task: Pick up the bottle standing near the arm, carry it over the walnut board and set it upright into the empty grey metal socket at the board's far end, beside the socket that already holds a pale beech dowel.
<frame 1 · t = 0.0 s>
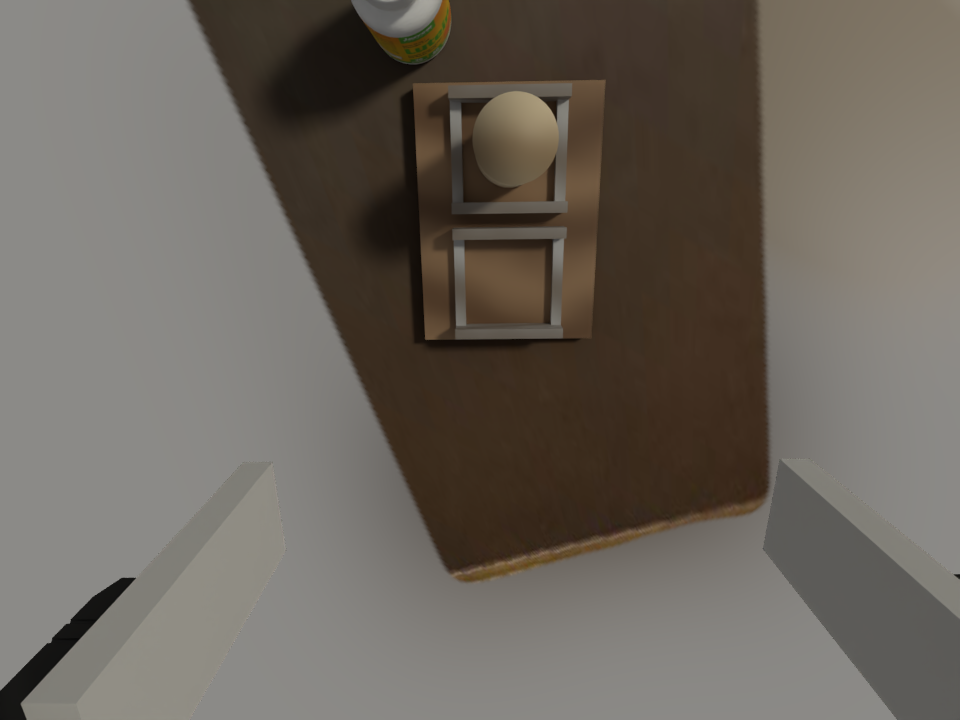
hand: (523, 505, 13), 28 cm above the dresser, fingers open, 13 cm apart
supplement bottle: (412, 22, 34), on the dresser
board: (507, 219, 38), on the dresser
beech dowel: (508, 153, 36), point 1 cm above the dresser, touching board
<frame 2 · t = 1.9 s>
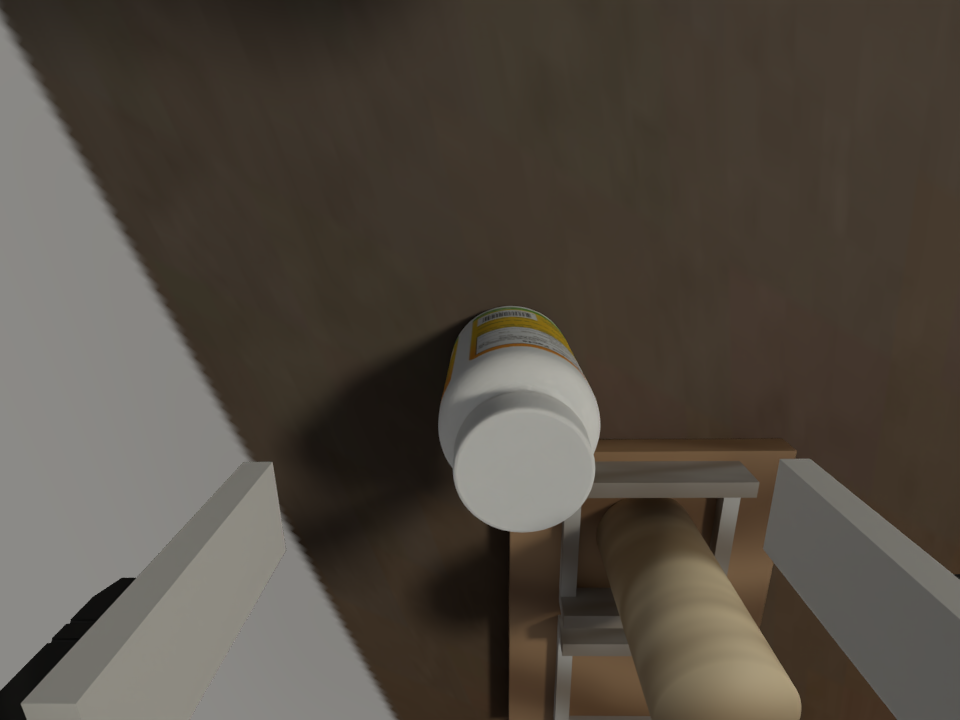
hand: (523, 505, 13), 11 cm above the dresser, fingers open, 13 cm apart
supplement bottle: (509, 359, 23), on the dresser
board: (630, 589, 27), on the dresser
beech dowel: (644, 533, 25), point 1 cm above the dresser, touching board
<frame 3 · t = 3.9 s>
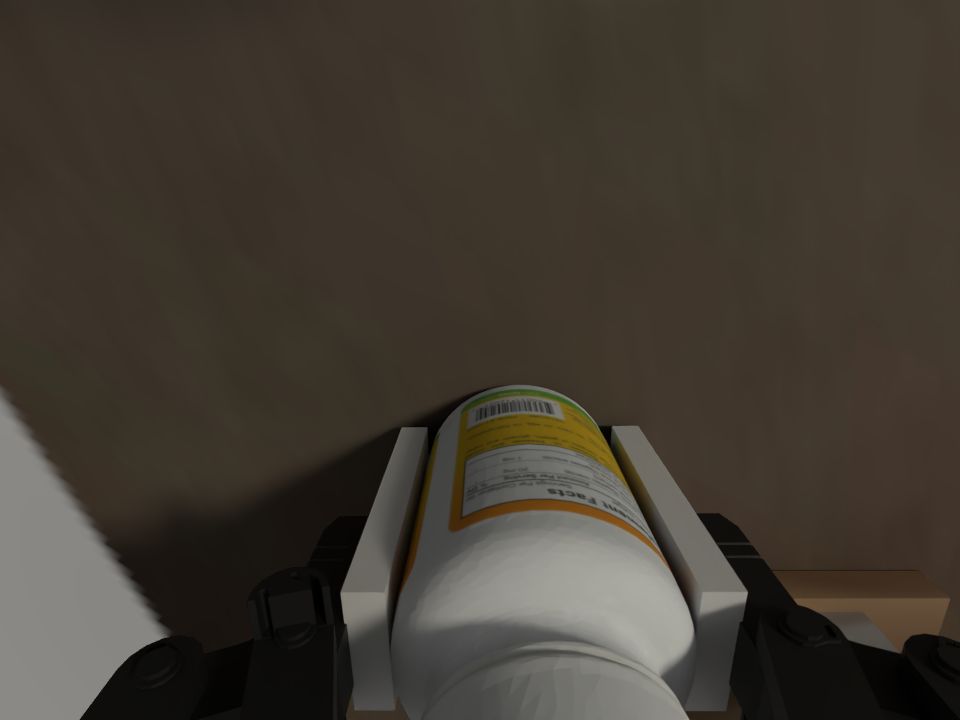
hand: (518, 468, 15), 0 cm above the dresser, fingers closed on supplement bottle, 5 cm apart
supplement bottle: (517, 459, 16), on the dresser, touching gripper
beech dowel: (714, 708, 17), point 1 cm above the dresser, touching board
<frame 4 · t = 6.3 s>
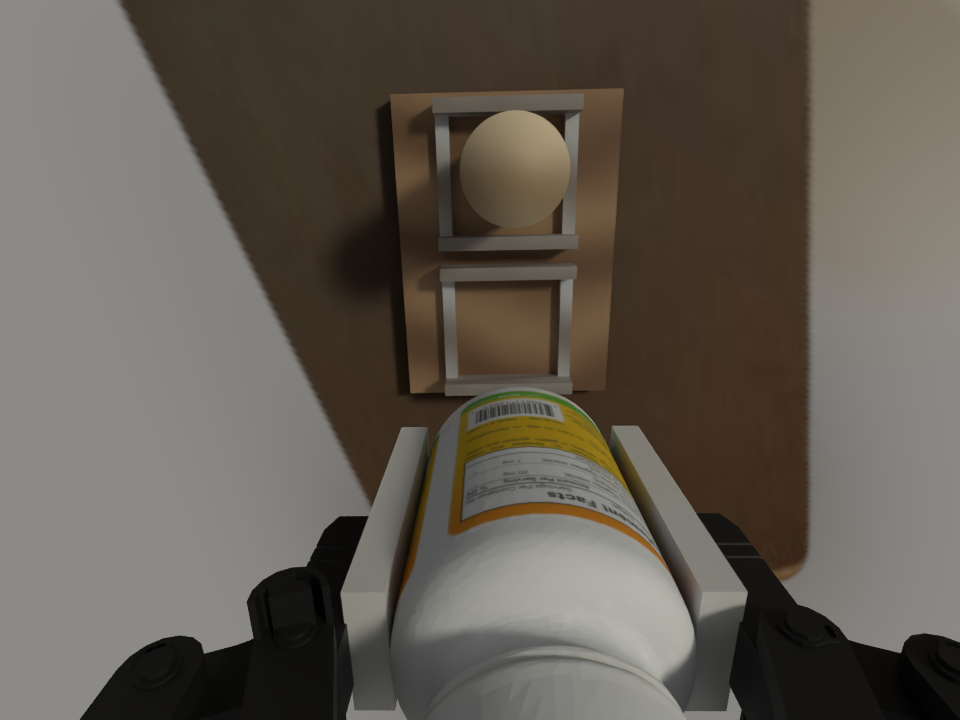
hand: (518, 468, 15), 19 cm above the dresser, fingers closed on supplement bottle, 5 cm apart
supplement bottle: (517, 461, 16), point 19 cm above the dresser, touching gripper
board: (506, 253, 32), on the dresser
beech dowel: (506, 177, 30), point 1 cm above the dresser, touching board
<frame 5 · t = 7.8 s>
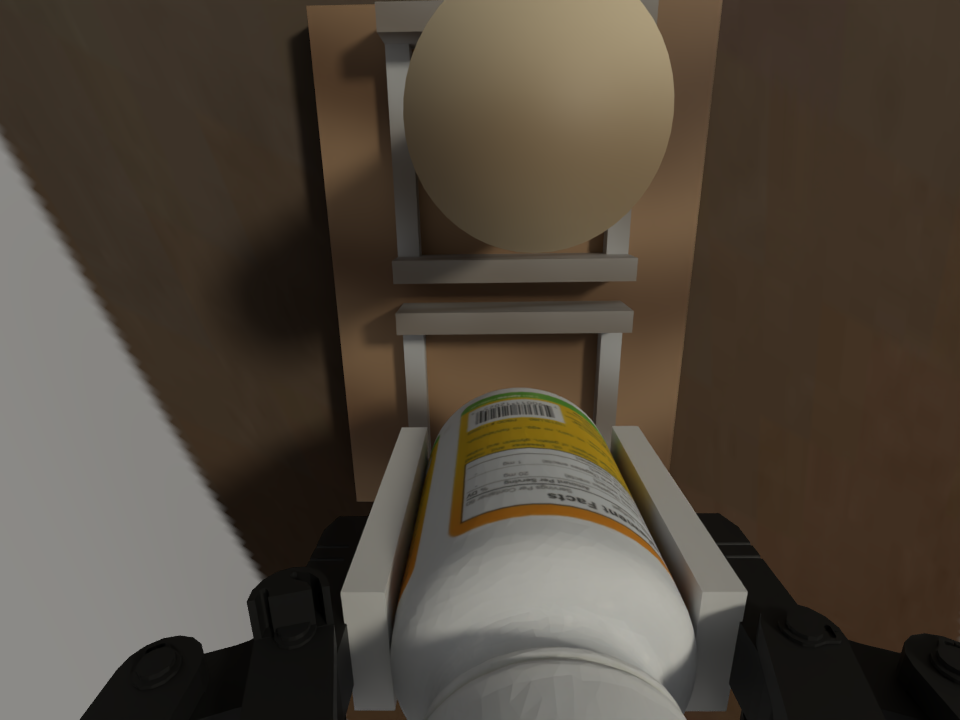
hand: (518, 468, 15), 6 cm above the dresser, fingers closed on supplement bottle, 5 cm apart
supplement bottle: (517, 462, 16), point 6 cm above the dresser, touching gripper
board: (510, 283, 20), on the dresser
beech dowel: (512, 156, 17), point 1 cm above the dresser, touching board
when the fingers open (2 cm above the dresser, at t = 9.2 s): supplement bottle stays where it is, resting on board.
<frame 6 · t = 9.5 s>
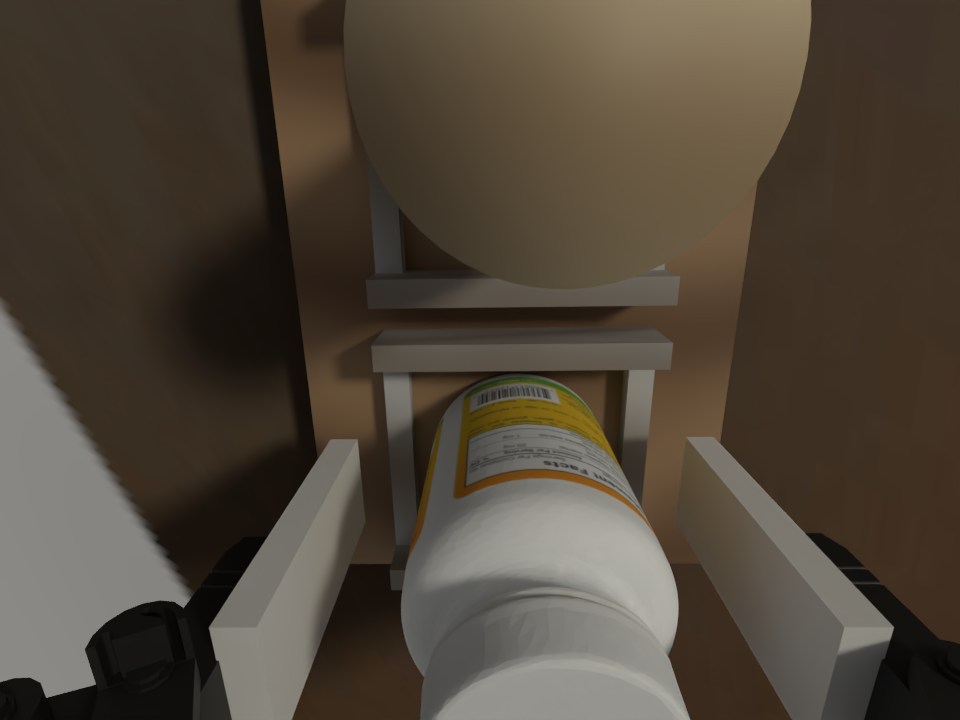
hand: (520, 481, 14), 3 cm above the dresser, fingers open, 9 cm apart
supplement bottle: (516, 445, 17), point 1 cm above the dresser, touching board
board: (515, 303, 16), on the dresser
beech dowel: (519, 147, 14), point 1 cm above the dresser, touching board
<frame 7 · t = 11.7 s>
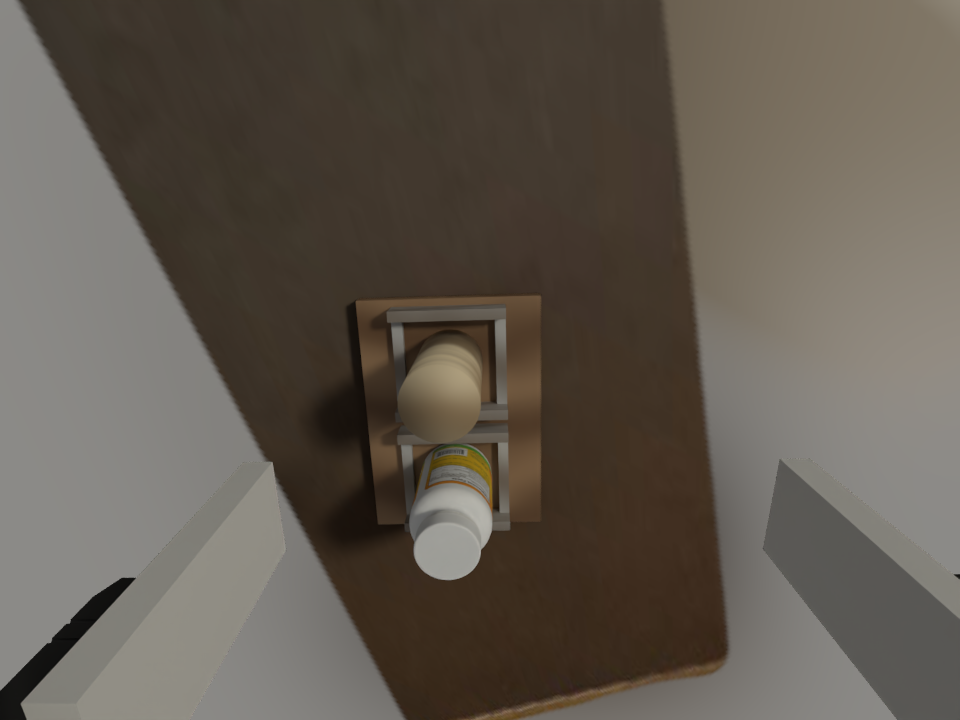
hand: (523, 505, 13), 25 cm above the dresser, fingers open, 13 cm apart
supplement bottle: (457, 470, 39), point 1 cm above the dresser, touching board
board: (454, 411, 39), on the dresser
beech dowel: (450, 360, 37), point 1 cm above the dresser, touching board
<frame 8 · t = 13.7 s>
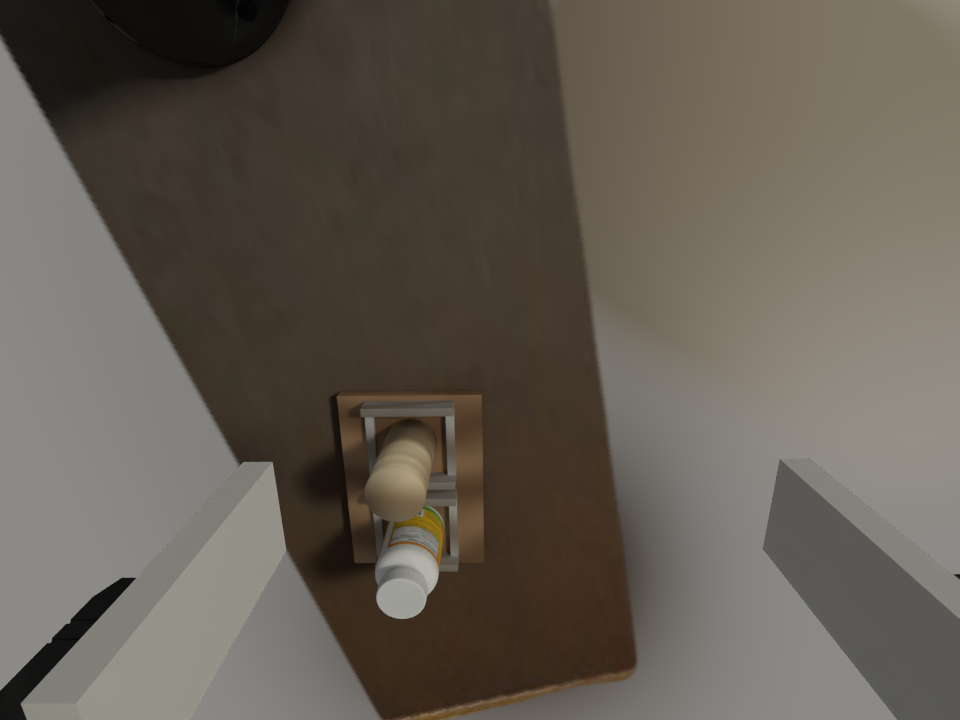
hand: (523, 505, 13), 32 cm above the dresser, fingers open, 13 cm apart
supplement bottle: (417, 523, 50), point 1 cm above the dresser, touching board
board: (416, 477, 49), on the dresser
beech dowel: (411, 441, 47), point 1 cm above the dresser, touching board
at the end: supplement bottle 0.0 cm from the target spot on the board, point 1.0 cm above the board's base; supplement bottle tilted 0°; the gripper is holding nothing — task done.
